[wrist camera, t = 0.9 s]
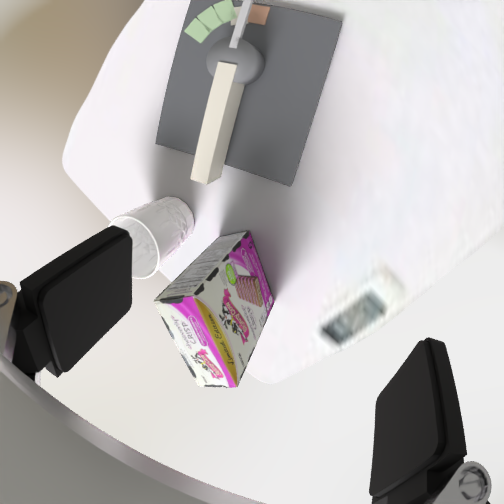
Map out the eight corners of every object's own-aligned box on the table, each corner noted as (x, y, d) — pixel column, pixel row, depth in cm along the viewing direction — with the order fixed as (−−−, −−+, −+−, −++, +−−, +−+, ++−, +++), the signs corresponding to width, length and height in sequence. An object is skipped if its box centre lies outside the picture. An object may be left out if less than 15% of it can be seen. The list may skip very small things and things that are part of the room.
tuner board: (196, -2, 28) (191, -5, 27) (342, 23, 26) (342, 19, 25) (160, 142, 38) (154, 143, 37) (292, 184, 36) (289, 187, 34)
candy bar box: (277, 301, 43) (239, 390, 29) (245, 306, 45) (197, 388, 31) (251, 227, 40) (193, 296, 25) (217, 235, 41) (149, 301, 27)
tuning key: (242, -7, 26) (229, -19, 22) (285, -1, 25) (276, -14, 22) (195, 168, 37) (178, 175, 33) (233, 180, 36) (219, 188, 32)
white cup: (144, 195, 42) (98, 218, 34) (192, 188, 40) (149, 212, 31) (157, 246, 45) (116, 278, 37) (204, 244, 43) (167, 280, 34)
